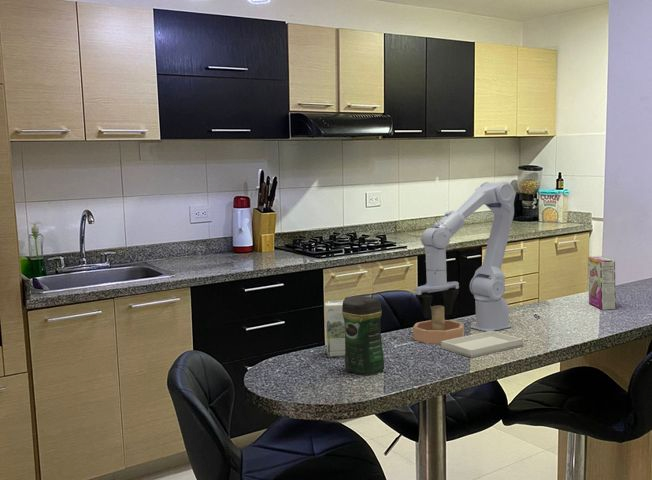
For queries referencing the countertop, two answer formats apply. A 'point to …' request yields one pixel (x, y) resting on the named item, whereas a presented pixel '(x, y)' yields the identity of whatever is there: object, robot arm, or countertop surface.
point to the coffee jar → (363, 335)
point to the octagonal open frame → (437, 332)
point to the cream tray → (481, 344)
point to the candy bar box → (602, 282)
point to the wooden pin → (438, 318)
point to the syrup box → (335, 328)
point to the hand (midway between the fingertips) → (437, 316)
